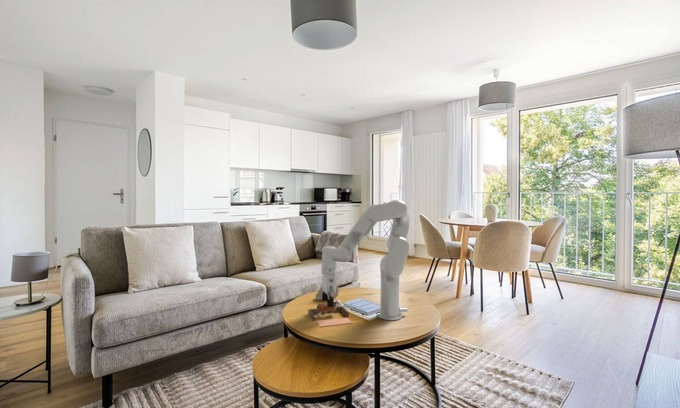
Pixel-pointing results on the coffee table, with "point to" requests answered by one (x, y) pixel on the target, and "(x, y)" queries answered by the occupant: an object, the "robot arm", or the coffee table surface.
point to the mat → (333, 322)
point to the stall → (338, 309)
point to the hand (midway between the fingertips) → (327, 303)
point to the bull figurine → (327, 308)
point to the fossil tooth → (319, 295)
